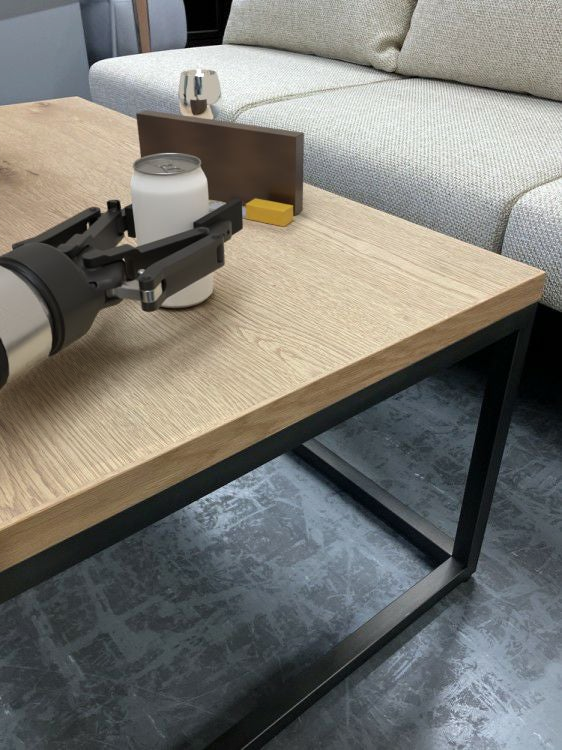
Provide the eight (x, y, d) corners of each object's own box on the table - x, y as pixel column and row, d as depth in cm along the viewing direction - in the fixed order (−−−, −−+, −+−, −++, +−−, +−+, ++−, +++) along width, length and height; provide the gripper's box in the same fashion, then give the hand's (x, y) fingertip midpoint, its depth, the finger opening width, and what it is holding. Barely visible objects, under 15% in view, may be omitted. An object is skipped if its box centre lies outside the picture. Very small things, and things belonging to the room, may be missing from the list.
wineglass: (233, 165, 97) (230, 72, 91) (201, 174, 94) (195, 79, 87) (206, 156, 101) (201, 66, 94) (175, 165, 97) (167, 72, 91)
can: (194, 272, 68) (184, 147, 61) (227, 297, 64) (220, 166, 57) (132, 288, 65) (115, 159, 58) (162, 316, 61) (147, 180, 54)
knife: (206, 210, 83) (205, 196, 82) (216, 205, 84) (215, 190, 83) (284, 226, 78) (284, 211, 77) (293, 220, 80) (293, 205, 79)
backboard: (143, 185, 90) (135, 113, 85) (153, 181, 92) (145, 109, 87) (295, 215, 81) (296, 136, 76) (302, 210, 83) (304, 132, 78)
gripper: (-66, 326, 54) (127, 226, 70) (136, 397, 46) (298, 265, 63) (-95, 233, 49) (117, 151, 66) (122, 294, 42) (299, 183, 58)
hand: (205, 206), depth 64 cm, fingers closed on can, 6 cm apart
